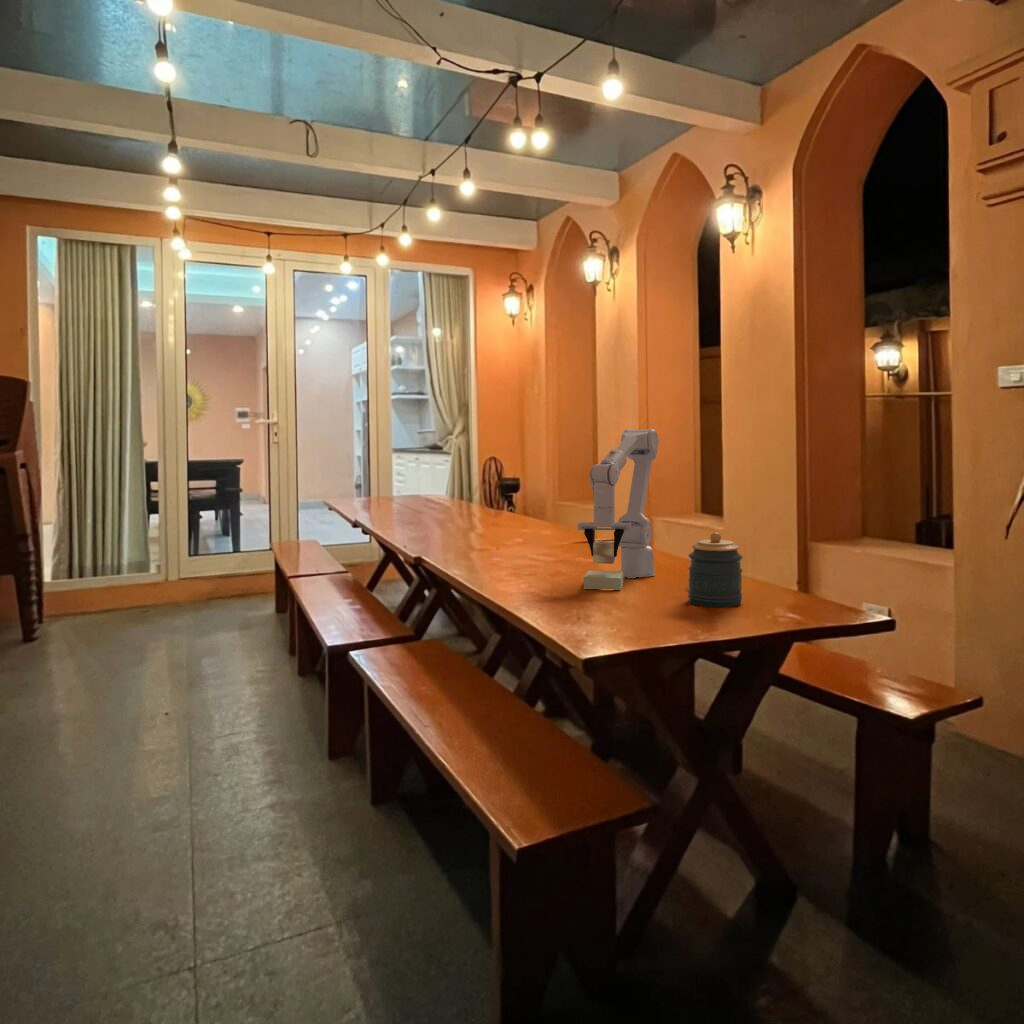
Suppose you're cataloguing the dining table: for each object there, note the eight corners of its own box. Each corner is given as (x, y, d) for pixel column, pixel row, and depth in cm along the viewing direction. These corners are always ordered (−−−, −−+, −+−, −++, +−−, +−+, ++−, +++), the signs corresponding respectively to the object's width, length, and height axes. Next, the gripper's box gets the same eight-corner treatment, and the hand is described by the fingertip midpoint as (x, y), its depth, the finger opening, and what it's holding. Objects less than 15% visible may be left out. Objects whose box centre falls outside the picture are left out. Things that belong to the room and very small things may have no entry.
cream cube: (615, 560, 205) (615, 541, 204) (613, 563, 200) (613, 543, 199) (595, 560, 206) (595, 540, 206) (593, 563, 201) (593, 543, 200)
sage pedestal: (623, 583, 207) (623, 571, 207) (620, 590, 198) (620, 578, 197) (588, 582, 210) (588, 570, 209) (583, 589, 200) (583, 576, 200)
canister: (677, 599, 186) (678, 531, 184) (720, 595, 190) (721, 528, 188) (708, 610, 173) (709, 537, 172) (753, 605, 178) (754, 533, 176)
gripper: (576, 508, 199) (576, 557, 201) (629, 508, 196) (629, 558, 197) (579, 506, 206) (579, 553, 207) (631, 506, 203) (631, 554, 204)
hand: (604, 556), depth 203 cm, fingers closed on cream cube, 5 cm apart
